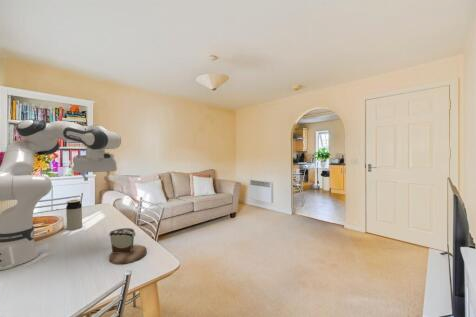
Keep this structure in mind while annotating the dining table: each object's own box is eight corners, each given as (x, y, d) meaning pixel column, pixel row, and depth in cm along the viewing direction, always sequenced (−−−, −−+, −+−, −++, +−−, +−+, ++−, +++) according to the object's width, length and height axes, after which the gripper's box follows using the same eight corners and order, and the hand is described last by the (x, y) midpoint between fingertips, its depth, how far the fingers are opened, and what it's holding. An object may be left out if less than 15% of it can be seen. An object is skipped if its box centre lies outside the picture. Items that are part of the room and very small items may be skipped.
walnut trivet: (106, 267, 94) (106, 263, 94) (111, 251, 108) (111, 248, 108) (146, 259, 100) (146, 256, 100) (146, 245, 115) (146, 242, 115)
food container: (140, 247, 109) (140, 228, 108) (133, 253, 103) (133, 232, 102) (117, 246, 110) (117, 227, 110) (109, 252, 104) (109, 231, 104)
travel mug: (74, 230, 137) (73, 202, 137) (63, 229, 139) (62, 201, 138) (85, 226, 145) (84, 199, 144) (75, 225, 147) (74, 198, 146)
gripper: (70, 155, 113) (71, 182, 113) (115, 155, 121) (116, 179, 121) (74, 155, 119) (75, 180, 119) (117, 154, 127) (117, 178, 127)
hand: (96, 180), depth 120 cm, fingers open, 8 cm apart
